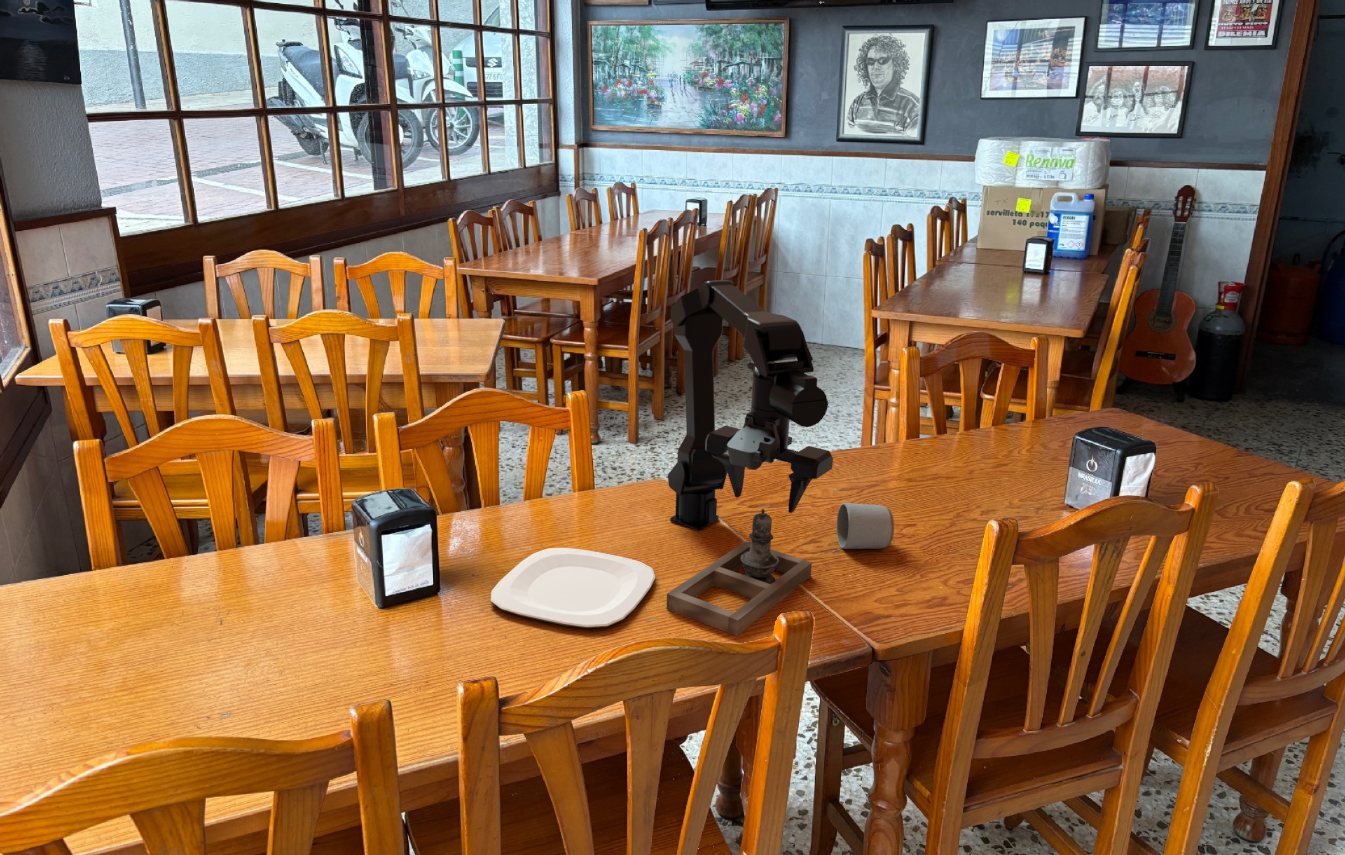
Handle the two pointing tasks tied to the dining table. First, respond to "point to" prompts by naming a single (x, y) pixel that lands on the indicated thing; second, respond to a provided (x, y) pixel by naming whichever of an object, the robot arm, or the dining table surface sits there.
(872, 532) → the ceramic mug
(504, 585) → the plate
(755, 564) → the salt shaker
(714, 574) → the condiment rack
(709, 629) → the dining table surface
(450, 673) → the dining table surface
